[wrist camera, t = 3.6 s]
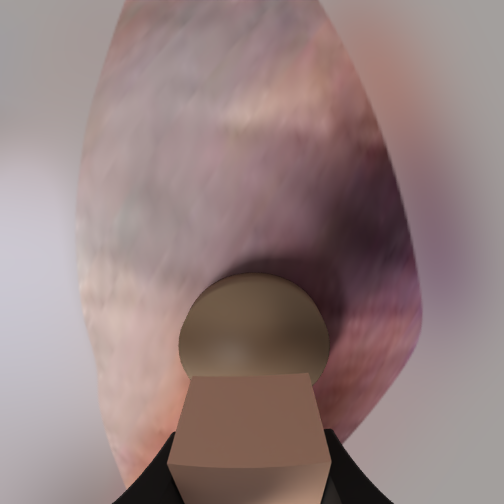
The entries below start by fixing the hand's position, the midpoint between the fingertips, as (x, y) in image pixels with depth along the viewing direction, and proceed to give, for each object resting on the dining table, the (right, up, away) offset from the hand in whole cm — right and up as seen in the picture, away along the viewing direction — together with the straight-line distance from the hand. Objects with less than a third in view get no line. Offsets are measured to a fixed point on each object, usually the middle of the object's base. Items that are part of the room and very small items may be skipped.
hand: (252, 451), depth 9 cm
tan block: (0, +1, +2) cm, 2 cm away
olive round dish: (0, +2, +8) cm, 9 cm away
